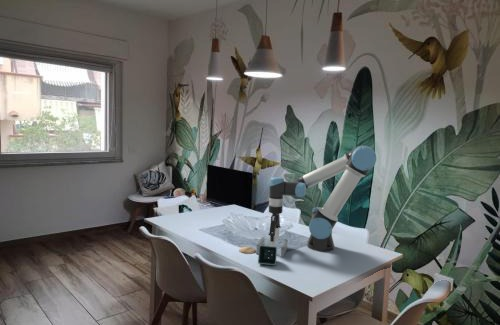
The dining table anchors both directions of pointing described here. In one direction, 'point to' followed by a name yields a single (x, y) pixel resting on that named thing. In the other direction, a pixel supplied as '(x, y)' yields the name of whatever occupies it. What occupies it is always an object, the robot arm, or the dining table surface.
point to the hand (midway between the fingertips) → (274, 242)
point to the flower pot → (267, 255)
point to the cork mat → (247, 250)
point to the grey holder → (281, 248)
